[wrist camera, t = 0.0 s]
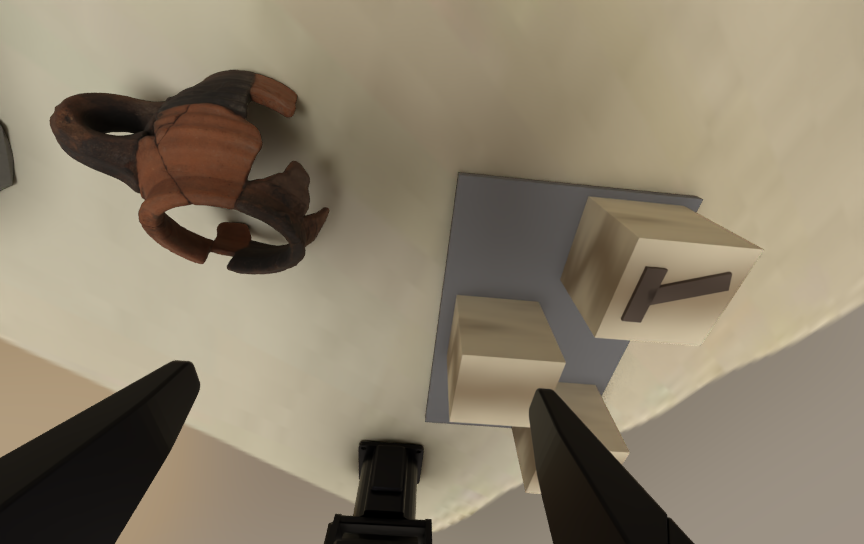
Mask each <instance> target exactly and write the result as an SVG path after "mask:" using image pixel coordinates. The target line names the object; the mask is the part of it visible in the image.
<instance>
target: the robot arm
mask: <svg viewBox="0 0 864 544" xmlns="http://www.w3.org/2000/svg"><path fill="white" fill-rule="evenodd" d="M199 390H200V381H199V378H198V376H197V373H196V370H195V367H194V365H193V363H192V362H190V361H179V360H175V361H172V362H169V363H168V364H166V365H164V366H162V367H161V368H159V369H157V370H155V371H153V372H152V373H150V374H148V375H146V376H145V377H143V378H141V379H139V380H137V381H136V382H134V383H132V384H130V385H129V386H127V387H125V388H123V389H121V390H120V391H118V392H116V393H114V394H113V395H111V396H109V397H107V398H106V399H104V400H102V401H100V402H98V403H97V404H95V405H93V406H91V407H90V408H88V409H86V410H84V411H82V412H81V413H79V414H77V415H75V416H74V417H72V418H70V419H68V420H67V421H65V422H63V423H61V424H59V425H58V426H56V427H54V428H52V429H50V430H49V431H47V432H45V433H43V434H42V435H40V436H38V437H36V438H35V439H33V440H31V441H29V442H27V443H26V444H24V445H22V446H21V447H19V448H17V449H15V450H13V451H12V452H10V453H8V454H6V455H5V456H3V457H1V458H0V544H115V542H116V541H117V539H118V537H119V536H120V534H121V532H122V531H123V529H124V527H125V526H126V524H127V522H128V521H129V519H130V517H131V516H132V514H133V513H134V511H135V509H136V508H137V506H138V504H139V503H140V501H141V499H142V498H143V496H144V494H145V493H146V491H147V489H148V488H149V486H150V484H151V483H152V481H153V479H154V478H155V476H156V474H157V473H158V471H159V469H160V468H161V466H162V464H163V463H164V461H165V459H166V458H167V456H168V454H169V453H170V451H171V449H172V447H173V445H174V443H175V441H176V439H177V437H178V435H179V433H180V431H181V429H182V426H183V424H184V422H185V420H186V418H187V416H188V414H189V412H190V410H191V408H192V406H193V404H194V401H195V399H196V397H197V395H198V393H199ZM529 422H530V429H531V437H532V444H533V451H534V459H535V466H536V472H537V478H538V482H539V487H540V491H541V495H542V499H543V503H544V507H545V511H546V515H547V520H548V524H549V528H550V532H551V536H552V540H553V544H694V543H693V542H692V541H691V540H690V538H688V536H687V535H686V534H685V533H684V532H683V531H682V530H681V529H680V528H679V527H678V525H677V524H676V523H675V522H674V521H673V520H672V519H671V518H669V517H667V514H666V513H665V511H664V510H663V509H662V508H661V507H660V506H659V505H658V504H657V503H656V502H655V500H654V499H653V498H652V497H651V496H650V495H649V494H648V493H647V492H646V491H645V490H644V488H643V487H642V486H641V485H640V484H639V483H638V482H637V481H636V480H635V479H634V477H633V476H632V475H631V474H630V473H629V472H628V471H627V470H626V469H625V468H624V467H623V466H622V464H621V463H620V462H619V461H618V460H617V459H616V458H615V457H614V456H613V454H612V453H611V452H610V451H609V450H608V449H607V448H606V447H605V446H604V445H603V444H602V442H601V441H600V440H599V439H598V438H597V437H596V436H595V435H594V434H593V433H592V432H591V430H590V429H589V428H588V427H587V426H586V425H585V424H584V423H583V422H582V421H581V419H580V418H579V417H578V416H577V415H576V414H575V413H574V412H573V411H572V410H571V409H570V407H569V406H568V405H567V404H566V403H565V402H564V401H563V400H562V399H561V398H560V396H559V395H558V394H557V393H556V392H555V391H554V390H552V389H545V388H538V389H537V390H536V391H535V394H534V396H533V399H532V402H531V404H530V407H529ZM423 453H424V447H423V446H421V445H409V444H394V443H379V442H360V444H359V479H360V481H359V486H358V492H357V497H356V503H355V508H354V514H353V516H344V515H342V514H335V517H334V521H333V522H331V523H329V524H328V529H327V533H326V538H325V541H324V544H432V521H431V519H425V520H415V515H416V492H417V484H418V483H419V481H420V474H421V467H422V460H423Z"/></svg>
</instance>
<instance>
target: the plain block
mask: <svg viewBox="0 0 864 544" xmlns="http://www.w3.org/2000/svg"><path fill="white" fill-rule="evenodd" d="M565 364H566V361H565V359H564V357H563V355H562V353H561V350H560V348H559V346H558V344H557V341H556V339H555V337H554V335H553V333H552V330H551V328H550V326H549V324H548V321H547V319H546V317H545V315H544V312H543V310H542V308H541V306H540V304H539V302H535V301H523V300H512V299H500V298H488V297H476V296H465V295H457V296H456V302H455V308H454V315H453V321H452V327H451V333H450V339H449V345H448V352H447V374H448V398H449V422H459V423H473V424H488V425H502V426H516V427H530V422H529V407H530V404H531V402H532V399H533V396H534V394H535V391H536V390H537V389H538V388H545V389H552V390H554V391H555V389H556V386H557V384H558V381H559V379H560V376H561V374H562V371H563V369H564V367H565Z"/></svg>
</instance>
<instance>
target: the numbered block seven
mask: <svg viewBox="0 0 864 544" xmlns="http://www.w3.org/2000/svg"><path fill="white" fill-rule="evenodd" d="M763 251H764V249H762V248H760V247H758V246H757V245H755V244H753V243H751V242H749V241H747V240H746V239H744V238H742V237H740V236H738V235H736V234H735V233H733V232H731V231H729V230H727V229H725V228H724V227H722V226H720V225H718V224H716V223H714V222H712V221H711V220H709V219H707V218H705V217H703V216H701V215H700V214H698V213H696V212H694V211H692V210H690V209H689V208H687V207H685V206H681V205H671V204H661V203H651V202H641V201H631V200H621V199H611V198H600V197H590V196H588V199H587V202H586V205H585V208H584V211H583V214H582V217H581V220H580V223H579V226H578V229H577V231H576V234H575V237H574V240H573V243H572V246H571V249H570V252H569V255H568V258H567V261H566V264H565V267H564V270H563V273H562V276H561V279H560V280H561V282H562V284H563V285H564V287H565V289H566V290H567V292H568V294H569V295H570V297H571V299H572V300H573V302H574V304H575V305H576V307H577V309H578V310H579V312H580V314H581V315H582V317H583V319H584V320H585V322H586V324H587V325H588V327H589V329H590V330H591V332H592V334H593V335H594V337H595V338H605V339H618V340H630V341H642V342H654V343H667V344H679V345H691V346H701V345H702V343H703V342H704V340H705V339H706V337H707V336H708V334H709V333H710V331H711V330H712V328H713V327H714V325H715V324H716V322H717V321H718V319H719V318H720V316H721V315H722V313H723V312H724V310H725V309H726V307H727V306H728V304H729V302H730V301H731V299H732V298H733V296H734V295H735V293H736V292H737V290H738V289H739V287H740V286H741V284H742V283H743V281H744V280H745V278H746V277H747V275H748V274H749V272H750V271H751V269H752V268H753V266H754V265H755V263H756V262H757V260H758V259H759V257H760V256H761V254H762V253H763Z"/></svg>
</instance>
